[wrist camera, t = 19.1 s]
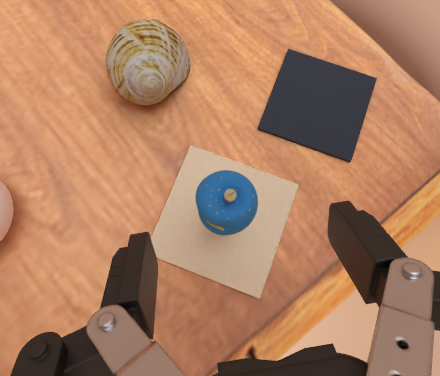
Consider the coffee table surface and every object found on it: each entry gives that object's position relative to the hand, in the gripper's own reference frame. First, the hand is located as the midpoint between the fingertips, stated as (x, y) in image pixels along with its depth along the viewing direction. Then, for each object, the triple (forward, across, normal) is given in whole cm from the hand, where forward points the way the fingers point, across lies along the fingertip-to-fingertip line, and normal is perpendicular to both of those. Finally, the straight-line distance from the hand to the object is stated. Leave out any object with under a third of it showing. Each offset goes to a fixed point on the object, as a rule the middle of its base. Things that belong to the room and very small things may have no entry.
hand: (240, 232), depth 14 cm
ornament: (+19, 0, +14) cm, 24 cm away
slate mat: (+28, -14, +5) cm, 32 cm away
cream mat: (+19, 0, +14) cm, 24 cm away
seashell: (+33, +6, 0) cm, 34 cm away
